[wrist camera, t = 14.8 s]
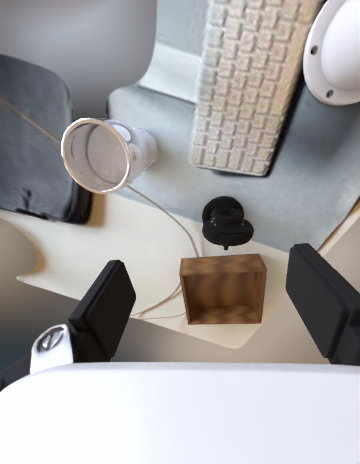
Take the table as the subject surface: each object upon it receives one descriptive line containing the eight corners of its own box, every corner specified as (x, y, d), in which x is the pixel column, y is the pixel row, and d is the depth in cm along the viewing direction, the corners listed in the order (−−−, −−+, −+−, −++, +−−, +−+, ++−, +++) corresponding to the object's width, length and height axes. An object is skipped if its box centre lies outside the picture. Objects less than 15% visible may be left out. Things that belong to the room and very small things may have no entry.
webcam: (245, 194, 32) (264, 216, 23) (241, 232, 36) (256, 263, 27) (201, 196, 33) (203, 218, 24) (201, 232, 36) (203, 263, 28)
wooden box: (258, 253, 38) (266, 268, 33) (255, 305, 45) (261, 323, 40) (181, 258, 40) (179, 273, 35) (188, 307, 47) (188, 324, 42)
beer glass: (169, 145, 30) (147, 152, 16) (146, 179, 32) (111, 209, 19) (132, 114, 28) (75, 94, 15) (112, 153, 31) (48, 166, 18)
